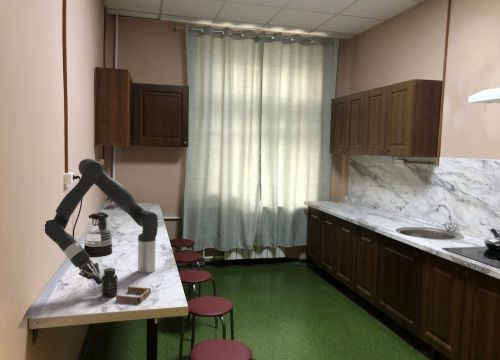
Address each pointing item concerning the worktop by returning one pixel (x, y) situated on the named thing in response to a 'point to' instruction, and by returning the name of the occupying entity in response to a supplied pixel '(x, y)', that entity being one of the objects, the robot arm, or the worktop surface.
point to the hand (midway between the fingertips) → (101, 283)
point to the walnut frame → (131, 299)
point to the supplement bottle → (109, 283)
